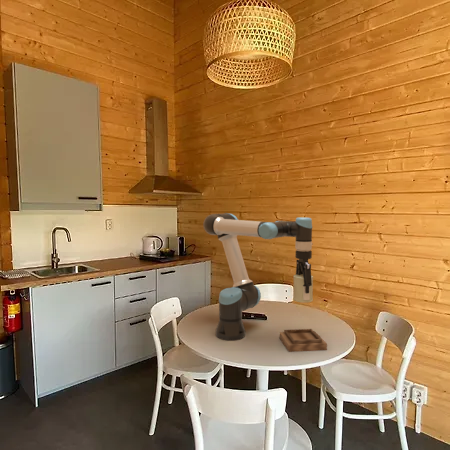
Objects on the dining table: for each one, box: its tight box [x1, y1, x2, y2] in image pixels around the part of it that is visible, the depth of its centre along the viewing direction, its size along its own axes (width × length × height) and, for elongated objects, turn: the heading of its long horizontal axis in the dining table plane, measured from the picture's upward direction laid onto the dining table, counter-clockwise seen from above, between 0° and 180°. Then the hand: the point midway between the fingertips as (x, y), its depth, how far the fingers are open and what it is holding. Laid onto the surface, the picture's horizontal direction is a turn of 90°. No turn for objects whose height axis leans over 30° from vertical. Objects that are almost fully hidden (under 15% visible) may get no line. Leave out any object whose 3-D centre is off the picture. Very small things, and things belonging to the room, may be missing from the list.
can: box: [292, 274, 314, 304], centre depth 165 cm, size 9×9×12 cm
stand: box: [279, 328, 328, 353], centre depth 167 cm, size 18×16×4 cm
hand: (303, 296), depth 165 cm, fingers closed on can, 9 cm apart
